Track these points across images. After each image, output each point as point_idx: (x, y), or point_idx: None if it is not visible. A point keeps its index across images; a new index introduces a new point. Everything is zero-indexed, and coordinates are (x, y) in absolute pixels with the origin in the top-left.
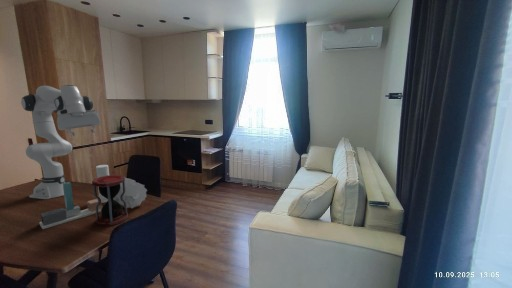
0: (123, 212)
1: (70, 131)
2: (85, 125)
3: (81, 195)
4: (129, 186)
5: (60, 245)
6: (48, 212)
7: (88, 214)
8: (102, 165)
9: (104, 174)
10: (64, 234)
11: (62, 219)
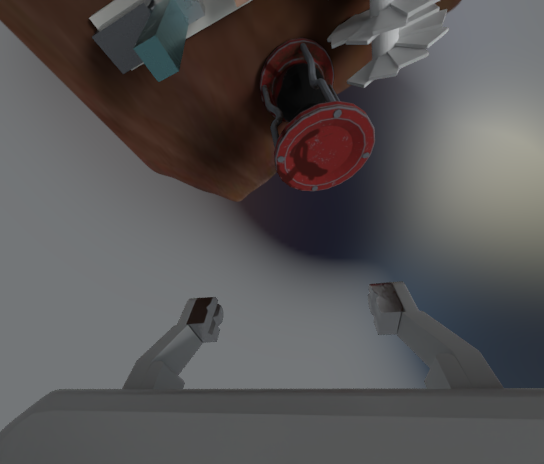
0: (325, 70)
1: (188, 356)
2: (362, 417)
3: None
4: (382, 77)
5: (215, 157)
6: (116, 38)
7: (229, 12)
8: None
9: None
10: (205, 120)
11: None
